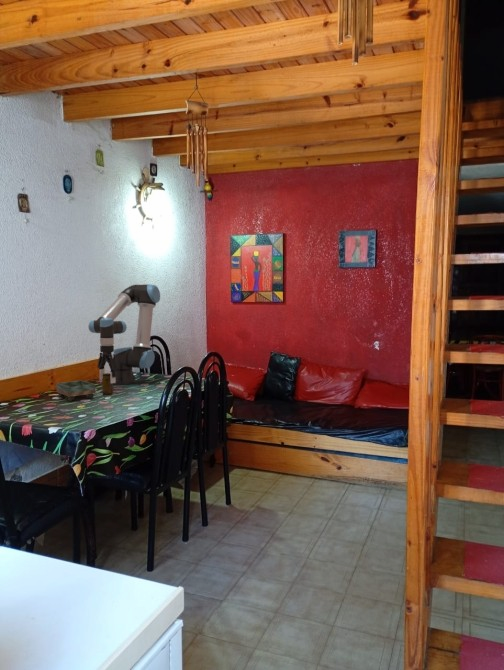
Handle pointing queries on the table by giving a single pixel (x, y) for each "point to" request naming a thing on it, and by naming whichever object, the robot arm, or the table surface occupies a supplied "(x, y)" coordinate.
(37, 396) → the table surface
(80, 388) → the shallow square tray
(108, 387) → the condiment
